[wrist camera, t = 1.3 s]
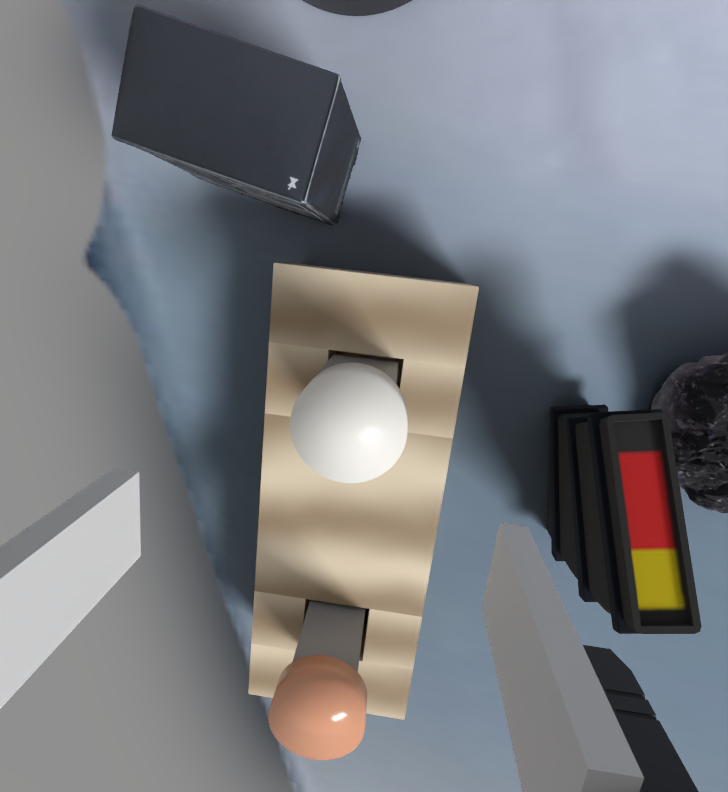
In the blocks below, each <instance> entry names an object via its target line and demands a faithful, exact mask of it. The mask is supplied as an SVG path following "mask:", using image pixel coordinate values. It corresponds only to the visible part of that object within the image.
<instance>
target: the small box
mask: <svg viewBox="0 0 728 792" xmlns="http://www.w3.org/2000/svg"><path fill="white" fill-rule="evenodd" d="M112 137H113V138H114V139H115V140H118V141H120V142H123V143H126V144H128V145H131V146H134V147H136V148H139V149H141V150H143V151H145V152H148V153H150V154H152V155H154V156H156V157H158V158H160V159H162V160H164V161H167V162H169V163H170V164H173V165H174V166H177V167H179V168H181V169H183V170H185V171H186V172H188V173H190V174H192V175H194V176H196V177H197V178H199V179H202V180H205V181H208V182H210V183H213V184H215V185H218V186H221V187H224V188H227V189H230V190H233V191H235V192H238V193H241V194H242V195H247V196H249V197H253V198H255V199H258V200H261V201H264V202H267V203H269V204H272V205H275V206H277V207H279V208H282V209H285V210H289V211H292V212H294V213H296V214H300V215H303V216H306V217H309V218H313V219H315V220H318V221H322V222H325V223H327V224H330V225H334V224H336V223H338V218H339V215H340V207H341V205H342V204H343V199H344V195H345V191H346V188H347V185H348V181H349V179H350V175H351V171H352V168H353V166H354V165H355V161H356V158H357V154H358V148H359V144H360V141H361V137H360V135H359V132H358V129H357V126H356V123H355V120H354V118H353V115H352V112H351V109H350V106H349V103H348V100H347V97H346V94H345V91H344V89H343V86H342V83H341V78H340V75H338V74H336V73H333V72H330V71H327V70H324V69H321V68H319V67H316V66H312V65H309V64H306V63H304V62H301V61H298V60H295V59H292V58H289V57H286V56H283V55H280V54H277V53H274V52H271V51H268V50H265V49H263V48H260V47H257V46H254V45H251V44H248V43H245V42H242V41H239V40H236V39H234V38H231V37H228V36H225V35H222V34H219V33H216V32H213V31H211V30H208V29H205V28H202V27H199V26H196V25H193V24H191V23H188V22H185V21H182V20H179V19H176V18H174V17H171V16H168V15H165V14H163V13H160V12H157V11H154V10H151V9H148V8H146V7H143V6H140V5H135V7H134V11H133V15H132V19H131V24H130V29H129V35H128V40H127V47H126V52H125V58H124V64H123V69H122V76H121V82H120V87H119V93H118V99H117V105H116V111H115V118H114V124H113V130H112Z"/></svg>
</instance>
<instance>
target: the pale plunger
mask: <svg viewBox="0 0 728 792" xmlns="http://www.w3.org/2000/svg"><path fill="white" fill-rule="evenodd" d="M397 373H398V362H391V361H383V360H376V359H368V358H360V357H352V356H344V355H336V354H333V356H332V357H331V358H330V359H329V360H328V362H327V363H326V364H325V365H324V367H323V368H322V369H321V370H320V371H319V373H318V374H317V375H316V376H315V377H314V378H313V379H312V380H311V381H310V383H309V384H308V385H307V386H306V387H305V389H304V390H303V391H302V392H301V393H300V395H299V396H298V398H297V400H296V402H295V404H294V406H293V409H292V413H291V419H290V431H291V437H292V441H293V444H294V446H295V449H296V451H297V452H298V454H299V456H300V457H301V458H302V460H303V461H304V462H305V463H306V464H307V465H308V466H309V467H310V468H311V469H312V470H313V471H315V472H316V473H318V474H319V475H321V476H323V477H325V478H327V479H330V480H333V481H337V482H342V483H360V482H365V481H369V480H372V479H374V478H377V477H379V476H380V475H382V474H384V473H385V472H386V471H388V470H389V469H390V468H391V467H392V466H393V465H394V464H395V463H396V462H397V460H398V459H399V457H400V456H401V454H402V452H403V450H404V447H405V444H406V440H407V432H408V415H407V406H406V402H405V399H404V396H403V394H402V392H401V390H400V389H399V387H398V386H397Z"/></svg>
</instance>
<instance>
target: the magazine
mask: <svg viewBox="0 0 728 792" xmlns="http://www.w3.org/2000/svg"><path fill="white" fill-rule="evenodd" d="M548 533H549V535H550V536H551V538H552V555H553V557H554V559H555V560H556V561H565V562H566V563H567V565H568V567H569V568H570V570H571V571H572V573H573V574H574V575H575V577H576V578H577V579H578V587H579V596H580V597H581V598H582V599H583V600H584V602H598V603H599V604H600V605H601V606H602V607H603V608H604V609H605V610H606V611H607V612H609V613H610V614H611V617H612V625H613V629H614V630H615V631H616V632H618V633H620V634H638V633H641V634H695V633H697V632H700V629H701V621H700V615H699V608H698V602H697V595H696V589H695V583H694V576H693V570H692V563H691V557H690V551H689V544H688V538H687V531H686V525H685V519H684V512H683V506H682V499H681V493H680V486H679V480H678V474H677V467H676V461H675V454H674V448H673V442H672V435H671V429H670V422H669V418H668V416H667V415H666V414H664V413H663V412H662V410H661V409H655V410H635V411H615V412H608V407H607V406H605V405H575V406H555V407H552V408H551V410H550V437H549V489H548Z"/></svg>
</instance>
